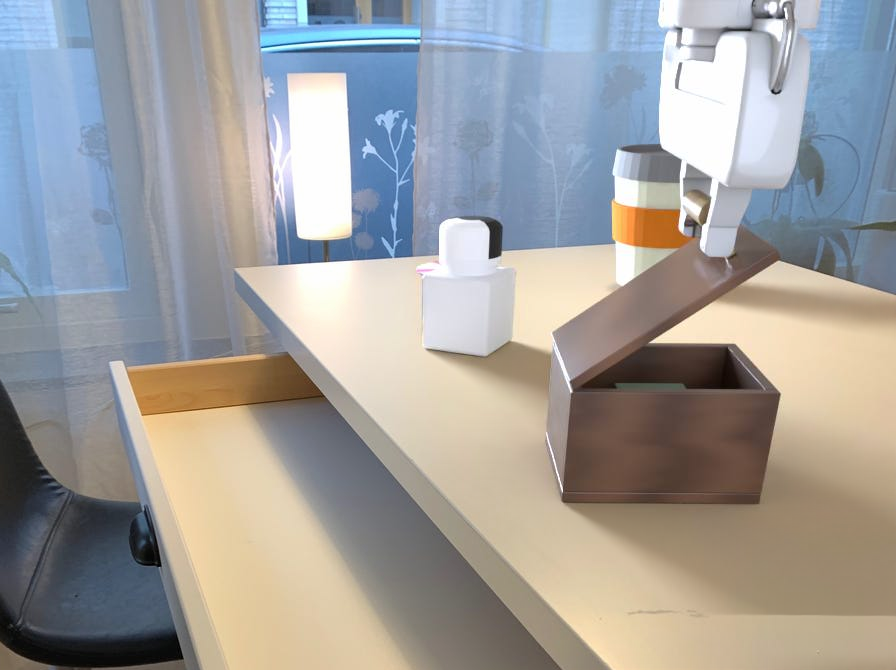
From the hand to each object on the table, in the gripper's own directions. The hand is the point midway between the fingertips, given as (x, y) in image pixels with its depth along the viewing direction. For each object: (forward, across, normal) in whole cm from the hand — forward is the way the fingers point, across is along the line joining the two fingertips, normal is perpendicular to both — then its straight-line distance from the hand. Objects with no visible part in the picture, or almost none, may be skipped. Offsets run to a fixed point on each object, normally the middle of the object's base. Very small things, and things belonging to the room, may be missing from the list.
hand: (703, 244), depth 67 cm
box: (+16, 0, +2) cm, 16 cm away
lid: (+4, 0, +3) cm, 5 cm away
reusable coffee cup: (+16, +61, -10) cm, 64 cm away
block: (+15, 0, +2) cm, 15 cm away
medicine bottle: (+16, +33, +14) cm, 39 cm away
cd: (+16, +67, +14) cm, 70 cm away
